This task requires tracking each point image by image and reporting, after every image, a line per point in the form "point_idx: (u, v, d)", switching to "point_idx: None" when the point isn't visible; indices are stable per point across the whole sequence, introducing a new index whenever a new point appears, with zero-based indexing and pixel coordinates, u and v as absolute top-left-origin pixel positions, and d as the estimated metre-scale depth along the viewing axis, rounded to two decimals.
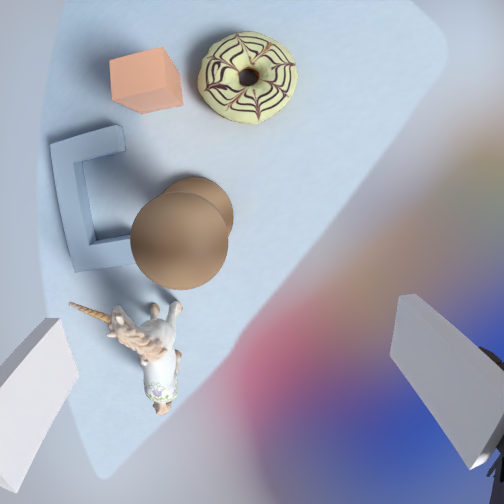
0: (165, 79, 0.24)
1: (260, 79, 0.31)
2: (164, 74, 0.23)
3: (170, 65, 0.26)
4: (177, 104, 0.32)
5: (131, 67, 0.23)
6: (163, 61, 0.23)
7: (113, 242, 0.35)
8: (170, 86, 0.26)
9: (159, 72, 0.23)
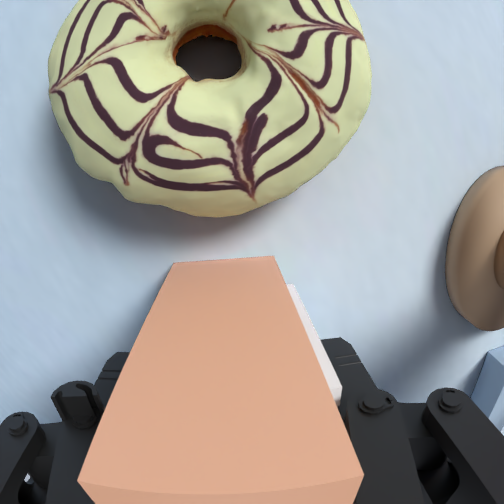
0: (306, 482, 0.03)
1: (225, 13, 0.08)
2: (272, 493, 0.03)
3: (165, 356, 0.06)
4: None
5: None
6: (175, 493, 0.03)
7: (496, 403, 0.14)
8: (298, 391, 0.05)
9: None
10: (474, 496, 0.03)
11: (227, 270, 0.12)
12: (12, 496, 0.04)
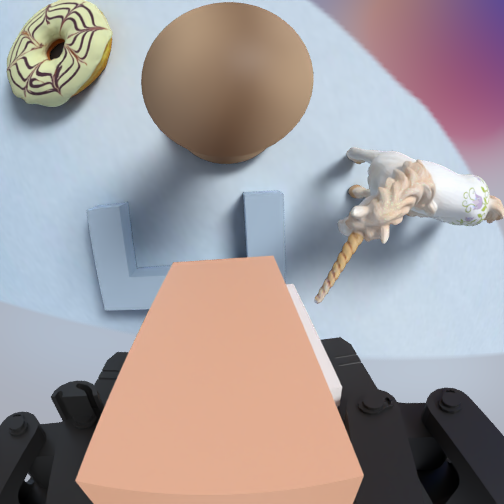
0: (305, 483, 0.03)
1: (60, 34, 0.19)
2: (271, 493, 0.03)
3: (164, 356, 0.06)
4: None
5: None
6: (173, 493, 0.03)
7: (247, 229, 0.25)
8: (298, 391, 0.05)
9: None
10: (474, 496, 0.03)
11: (227, 270, 0.12)
12: (13, 496, 0.04)
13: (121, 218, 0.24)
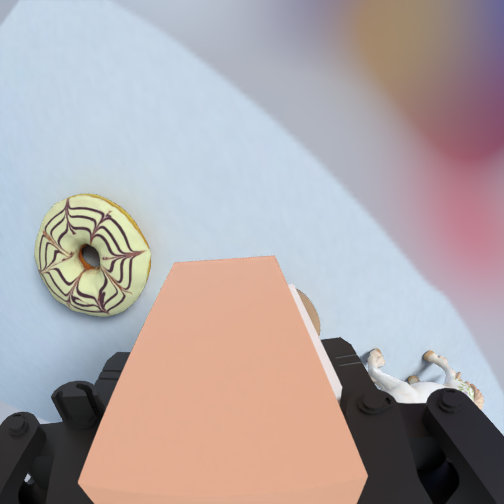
0: (309, 484, 0.03)
1: (90, 245, 0.24)
2: (275, 494, 0.03)
3: (166, 356, 0.06)
4: None
5: None
6: (177, 495, 0.03)
7: None
8: (301, 391, 0.05)
9: None
10: (474, 496, 0.03)
11: (228, 270, 0.11)
12: (13, 497, 0.04)
13: None
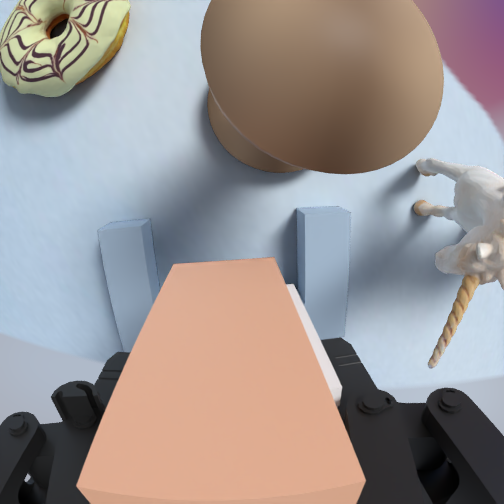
0: (307, 488, 0.03)
1: (63, 7, 0.14)
2: (273, 499, 0.03)
3: (164, 359, 0.06)
4: None
5: None
6: (175, 499, 0.03)
7: (307, 255, 0.20)
8: (299, 395, 0.05)
9: None
10: (474, 496, 0.03)
11: (227, 271, 0.11)
12: (13, 497, 0.04)
13: (143, 241, 0.19)
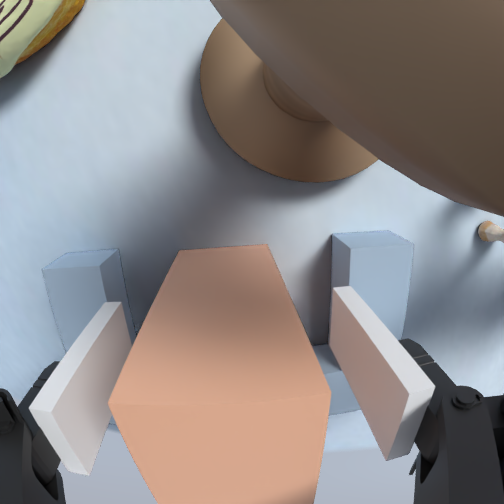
0: (286, 397, 0.05)
1: None
2: (260, 404, 0.05)
3: (176, 316, 0.08)
4: None
5: (201, 488, 0.06)
6: (186, 406, 0.05)
7: None
8: (282, 337, 0.07)
9: (245, 421, 0.05)
10: None
11: (226, 255, 0.13)
12: None
13: (105, 287, 0.12)
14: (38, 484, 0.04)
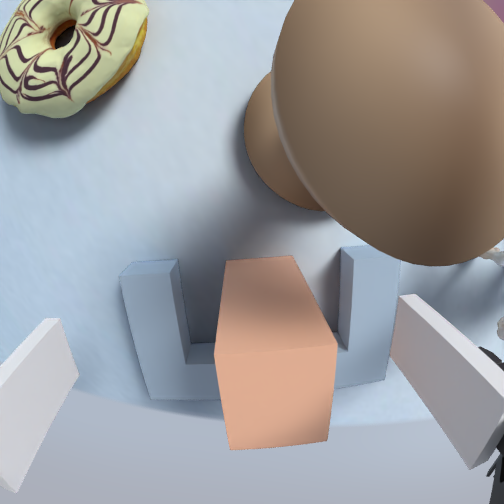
0: (313, 346, 0.10)
1: (69, 12, 0.12)
2: (300, 350, 0.10)
3: (240, 306, 0.13)
4: None
5: (259, 415, 0.11)
6: (260, 352, 0.10)
7: (353, 303, 0.18)
8: (309, 317, 0.12)
9: (291, 360, 0.10)
10: None
11: (263, 264, 0.18)
12: None
13: (172, 288, 0.17)
14: None
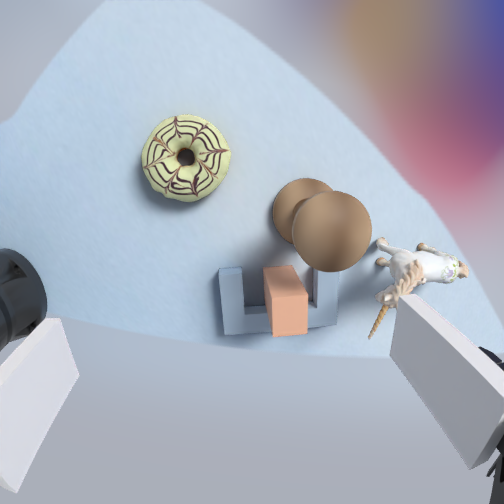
0: (300, 295, 0.35)
1: (189, 147, 0.37)
2: (296, 296, 0.35)
3: (275, 285, 0.38)
4: None
5: (284, 320, 0.35)
6: (285, 297, 0.35)
7: (318, 286, 0.43)
8: (299, 287, 0.37)
9: (294, 299, 0.35)
10: None
11: (280, 269, 0.43)
12: None
13: None
14: None
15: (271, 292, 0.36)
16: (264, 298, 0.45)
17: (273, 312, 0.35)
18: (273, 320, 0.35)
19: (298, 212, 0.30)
